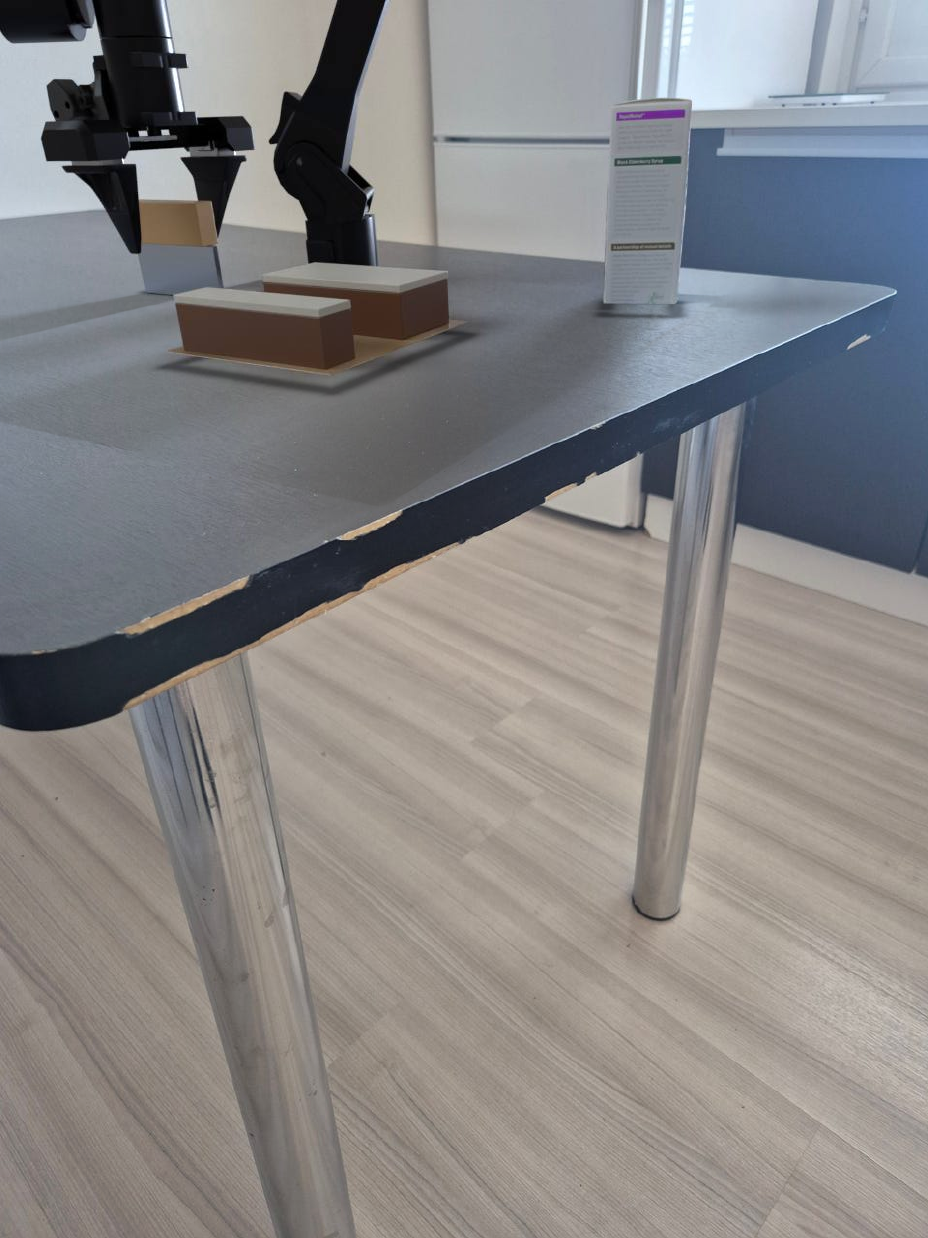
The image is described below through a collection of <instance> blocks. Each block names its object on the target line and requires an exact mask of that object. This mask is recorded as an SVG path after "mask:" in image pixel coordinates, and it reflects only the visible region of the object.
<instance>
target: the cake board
mask: <svg viewBox="0 0 928 1238" xmlns="http://www.w3.org/2000/svg"><path fill="white" fill-rule="evenodd" d="M468 322H469V321H467V320H458V319H449V323H446V324H444V325H441V326H438V327H436V328H433V329H431V330H428V331H425V332H423V333H420V334H417V335H415V336H412V337H409V338H407V339H404V340H398V339H389V338H380V337H372V336H363V335H354V334H353V338H354V349H355V359H352V360H349V361H347V362H344V363H342V364H339V365H336V366H334V367H331V368H328V369H326V370H325V369H318V368H310V367H303V366H296V365H289V364H281V363H274V362H267V361H260V360H252V359H245V358H238V357H231V356H223V355H216V354H209V353H202V352H194V351H187V350H184V347H183V345H182V346H179V347H176V348H172V349H168V350H166V351H165V353H169V354H177V355H183V356H184V355H185V356H192V357H197V358H198V357H199V358H204V359H212V360H218V361H226V362H232V363H240V364H248V365H254V366H262V367H269V368H275V369H282V370H289V371H297V372H304V373H311V374H318V375H325V376H333V375H334V376H335V375H336V374H339V373H342V372H344V371H346V370H349V369H351V368H354V367H357V366H359V365H363V364H364V363H367V362H370V361H372V360H375V359H377V358H380V357H382V356H386V355H387V354H390V353H393V352H395V351H398V350H400V349H403V348H406V347H408V346H411V345H413V344H415V343H419V342H421V341H424V340H426V339H429V338H432V337H433V336H436V335H438V334H441V333H444V332H446V331H449V330H451V329H454V328H456V327H459V326H462V325H464V324H467V323H468Z"/></svg>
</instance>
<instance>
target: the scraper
mask: <svg viewBox="0 0 928 1238" xmlns="http://www.w3.org/2000/svg"><path fill="white" fill-rule="evenodd" d="M139 208H140V220H141V233H142V244H141V253H140V254H137V257H138V262H139V267H140V271H141V275H142V276H141V277H142V280H143V286H144V290H145V293H147V294H157V295H167V296H173V295H175V294H179V293H184V292H188V291H192V290H197V289H201V288H205V287H211V288H222V289H225V287H224V286H225V285H224V282H223V281H224V280H223V275H222V268H221V262H220V255H219V249H218V245H219V238H218V239H217V233H216V227H215V221H214V215H213V209H212V203H211V201H198V200H191V199H190V200H189V199H188V200H186V199H150V198H149V199H145V198H144V199H143V198H141V199H140V198H139Z"/></svg>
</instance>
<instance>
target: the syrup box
mask: <svg viewBox="0 0 928 1238" xmlns="http://www.w3.org/2000/svg"><path fill="white" fill-rule="evenodd" d="M692 109H693V101H692V99H689V98H680V97H647V98H640V99H639V98H638V99H632V100H627V101H622V102H615V103H613V104H612V105H611V106H610V121H609V122H610V123H609V144H608V145H609V148H608V170H607V171H608V172H607V194H606V218H605V248H604V253H605V254H604V273H603V299H602V300H603V304H615V305H616V304H622V305H623V304H624V305H625V304H626V305H627V304H630V305H631V304H632V305H676V304H677V302H678V296H679V285H680V274H681V262H682V251H683V240H684V231H685V221H686V210H687V209H686V208H687V195H688V182H689V181H688V179H689V164H690V163H689V162H690V145H691V128H692V127H691V125H692V111H693V110H692Z"/></svg>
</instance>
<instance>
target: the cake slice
mask: <svg viewBox="0 0 928 1238" xmlns="http://www.w3.org/2000/svg"><path fill="white" fill-rule="evenodd" d="M172 297H173V300H174V306H175V311H176V316H177V321H178V326H179V332H180V337H181V342H182V346H183V347H184V350H187V351H194V352H202V353H209V354H216V355H223V356H231V357H238V358H245V359H252V360H260V361H267V362H274V363H281V364H289V365H296V366H303V367H310V368H318V369H325V370H326V369H328V368H331V367H334V366H336V365H339V364H342V363H344V362H347V361H349V360H352V359H355V349H354V338H353V327H352V317H351V309H350V308H351V306H350V300H345V299H334V298H323V297H312V296H300V295H289V294H278V293H267V292H264V291H256V290H244V289H243V290H242V289H231V288H223V289H222V288H211V287H205V288H201V289H197V290H192V291H188V292H184V293H179V294H175V295H172Z"/></svg>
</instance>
